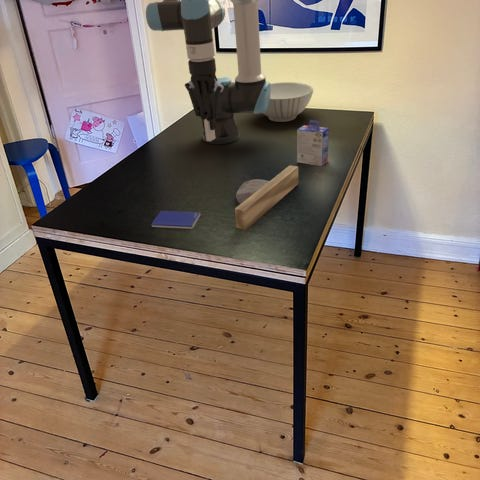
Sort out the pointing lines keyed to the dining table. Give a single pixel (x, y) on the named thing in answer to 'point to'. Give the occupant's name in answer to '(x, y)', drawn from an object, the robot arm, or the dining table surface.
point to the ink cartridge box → (312, 144)
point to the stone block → (249, 189)
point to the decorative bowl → (287, 100)
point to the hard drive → (176, 219)
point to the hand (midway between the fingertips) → (211, 139)
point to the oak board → (266, 197)
